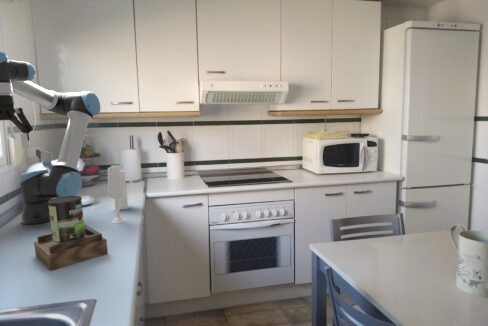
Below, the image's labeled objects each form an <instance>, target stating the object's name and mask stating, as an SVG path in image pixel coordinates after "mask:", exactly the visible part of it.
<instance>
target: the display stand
mask: <svg viewBox="0 0 488 326" xmlns="http://www.w3.org/2000/svg"><path fill="white" fill-rule="evenodd" d="M84 227H85V235H86V237H82V238H79V239H75V240H71V241H67V242H63V243H59V244H54V243H53V236H52V232H48V233H44V234H40V235H37V236H36V237H37V240H36V241H33V245H34V251H35V252H34V253H35V256H36V257H37V259H39V260H40V261H41V262H42V264H44V265H45V267H46V268H47V269H48V270H50V271H54V270H57V269H60V268H64V267H68V266H71V265H75V264H78V263H81V262H84V261H87V260H91V259H95V258H97V256H98V257H100V256H104V254H105V255H107V253H108V254H109V249H108V241H107V240H108V239H107V238H105V237H103V234H102V233H101V232H99V231H98V230H95V229H94V228H91V227H90V226H88V225H87V224H84ZM94 257H95V258H94Z"/></svg>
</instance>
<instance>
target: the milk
mask: <svg viewBox="0 0 488 326" xmlns="http://www.w3.org/2000/svg"><path fill="white" fill-rule="evenodd" d="M110 167H119V169H120V174H121V179H122V184H123V189H124V193H123V195H122V196H121V197H120V199H118V203H119V211H121V210H128V209H129V204H128V195H127V193H128V192H127V183H126V175H125V174H126V173H125V169H124V165H123V164H114V165H110ZM112 200H113V201H112V202H113V208H114V210H115V211H116V201H115V200H114V199H113V198H112Z"/></svg>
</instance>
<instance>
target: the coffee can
mask: <svg viewBox="0 0 488 326" xmlns="http://www.w3.org/2000/svg"><path fill="white" fill-rule="evenodd" d="M48 206H49V214H50V221H49V222H50V227H51V233H52V236H53V243H54V244H59V243H63V242H67V241H71V240H75V239H79V238H82V237H86V235H85V227H84V225H85V220H84V211H83V203H82V196H80V195H79V196H78V195H75V196H66V197H59V198H52V200H49V201H48Z"/></svg>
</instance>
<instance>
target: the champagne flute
mask: <svg viewBox="0 0 488 326" xmlns="http://www.w3.org/2000/svg"><path fill="white" fill-rule="evenodd" d="M123 193H124V189H123V184H122V179H121V174H120V169H119V167H111V166H110V167H107V195H108V197H110V198H111V199H112V200H113V199H114V200H115V201H116V210H115V211H116V217H115V218H114V219H113V220H112V221H111V222H110V223H111V224H122V223H124V222H127V218H124V217H122V216H121V215H120V210H119V203H118V199H120V197H121V196H122V195H123Z"/></svg>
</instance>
